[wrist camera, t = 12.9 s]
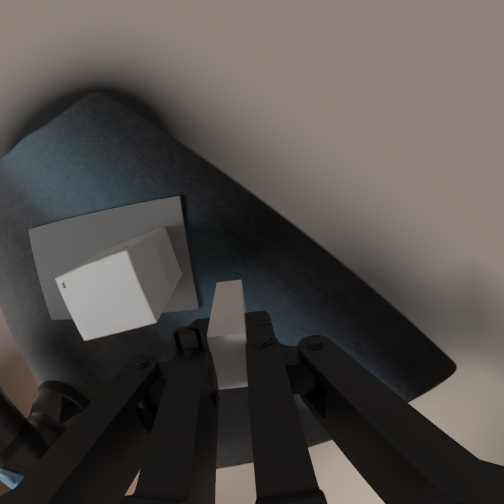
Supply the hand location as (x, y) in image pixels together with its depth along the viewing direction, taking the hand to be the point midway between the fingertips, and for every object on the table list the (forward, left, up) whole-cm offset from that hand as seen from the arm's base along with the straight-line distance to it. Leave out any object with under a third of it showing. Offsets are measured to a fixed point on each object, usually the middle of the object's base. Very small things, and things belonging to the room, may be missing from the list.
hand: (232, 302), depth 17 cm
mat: (-17, 0, -17) cm, 24 cm away
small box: (-11, 0, -16) cm, 20 cm away
